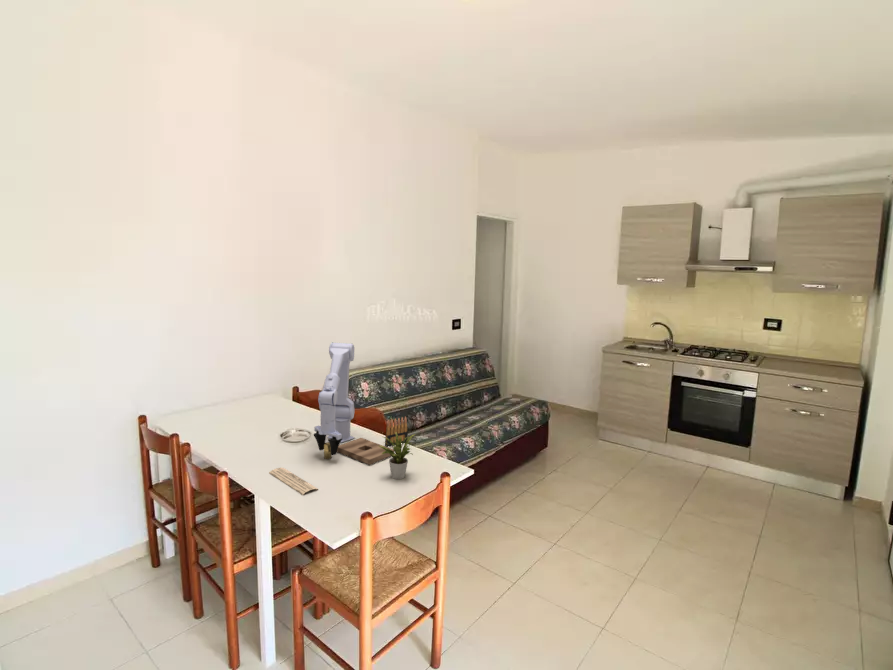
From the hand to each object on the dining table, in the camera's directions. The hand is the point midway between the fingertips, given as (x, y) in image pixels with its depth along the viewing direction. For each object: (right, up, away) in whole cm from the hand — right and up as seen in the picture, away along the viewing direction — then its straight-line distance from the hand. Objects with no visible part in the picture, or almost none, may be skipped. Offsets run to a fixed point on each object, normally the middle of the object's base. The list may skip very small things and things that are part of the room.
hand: (327, 452), depth 198 cm
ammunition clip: (+26, -1, +18) cm, 32 cm away
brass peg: (0, -2, 0) cm, 2 cm away
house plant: (+30, -6, -12) cm, 33 cm away
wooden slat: (-7, -6, -21) cm, 23 cm away
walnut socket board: (+14, -2, +6) cm, 15 cm away
